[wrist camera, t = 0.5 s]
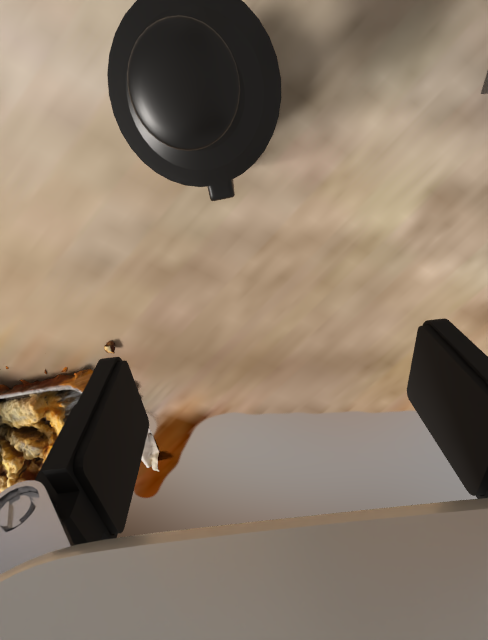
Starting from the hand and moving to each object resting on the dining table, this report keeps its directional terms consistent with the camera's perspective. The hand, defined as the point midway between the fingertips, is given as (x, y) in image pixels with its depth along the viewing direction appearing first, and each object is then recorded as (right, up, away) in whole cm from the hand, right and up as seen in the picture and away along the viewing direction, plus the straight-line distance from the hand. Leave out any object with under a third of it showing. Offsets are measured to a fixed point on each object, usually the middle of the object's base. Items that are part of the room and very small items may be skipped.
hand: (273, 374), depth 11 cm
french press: (-4, +22, +22) cm, 31 cm away
